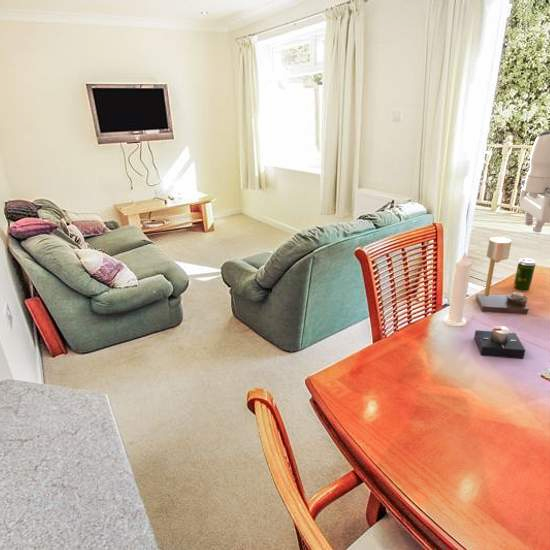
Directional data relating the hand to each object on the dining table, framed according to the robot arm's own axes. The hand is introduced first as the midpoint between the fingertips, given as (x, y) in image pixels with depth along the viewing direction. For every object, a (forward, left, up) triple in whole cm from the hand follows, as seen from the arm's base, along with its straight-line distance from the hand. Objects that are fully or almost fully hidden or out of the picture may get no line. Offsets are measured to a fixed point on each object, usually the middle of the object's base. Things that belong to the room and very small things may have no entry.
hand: (532, 228), depth 121 cm
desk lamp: (+9, 0, -25) cm, 27 cm away
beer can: (-6, -15, -29) cm, 34 cm away
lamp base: (+5, 0, -29) cm, 29 cm away
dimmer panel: (+12, +27, -29) cm, 41 cm away
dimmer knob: (+12, +27, -26) cm, 39 cm away
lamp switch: (0, 0, -25) cm, 25 cm away
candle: (+22, +13, -29) cm, 39 cm away
